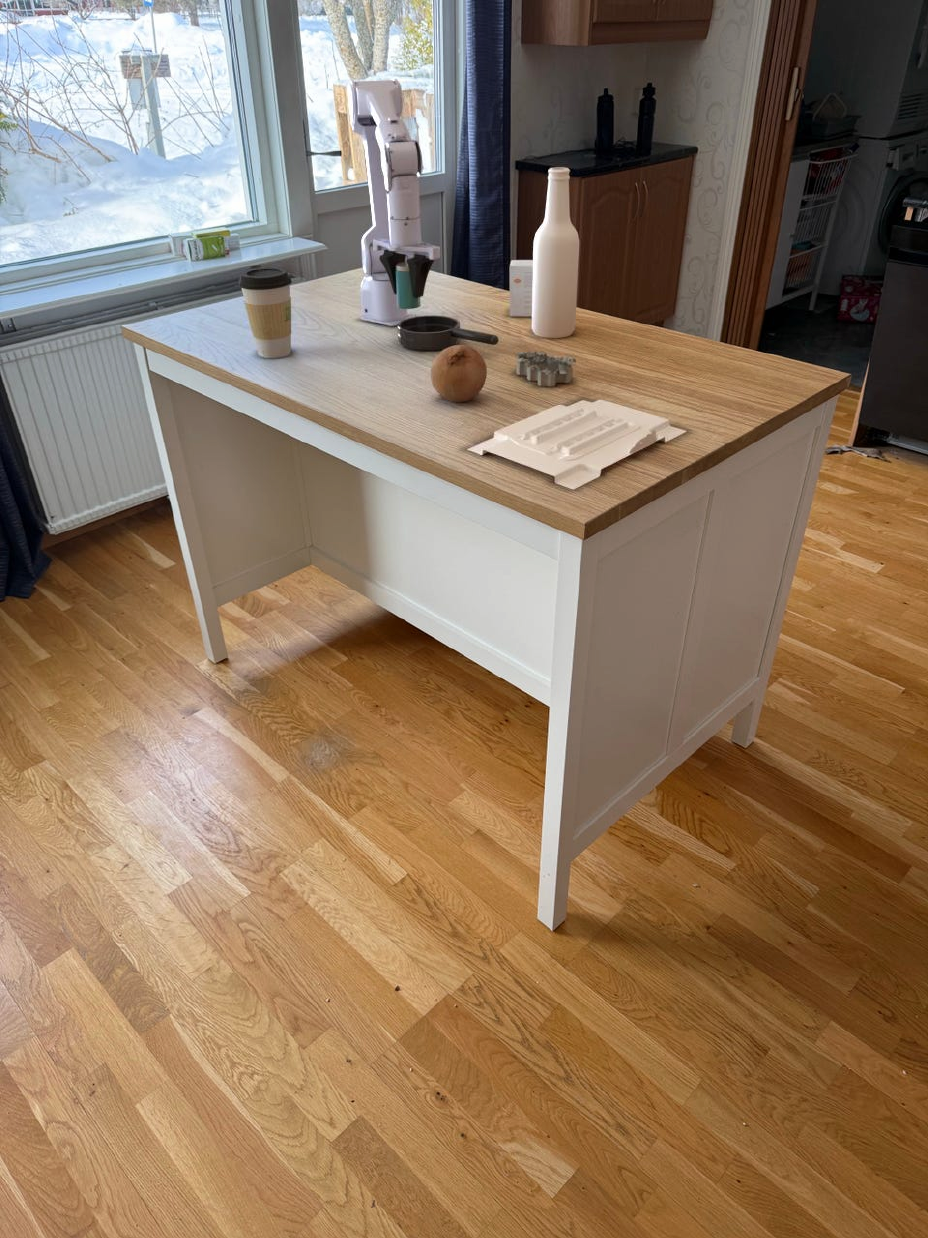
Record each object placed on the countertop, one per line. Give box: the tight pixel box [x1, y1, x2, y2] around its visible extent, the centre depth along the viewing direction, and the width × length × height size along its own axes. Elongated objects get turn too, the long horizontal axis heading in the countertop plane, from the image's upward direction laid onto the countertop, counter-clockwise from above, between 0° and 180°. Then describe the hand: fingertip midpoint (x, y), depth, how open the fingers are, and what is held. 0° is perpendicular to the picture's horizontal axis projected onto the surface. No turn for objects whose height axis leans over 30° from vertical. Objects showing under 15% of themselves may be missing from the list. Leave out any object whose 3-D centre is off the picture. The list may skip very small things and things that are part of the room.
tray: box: [466, 399, 687, 490], centre depth 135 cm, size 20×28×4 cm
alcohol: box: [531, 166, 580, 339], centre depth 174 cm, size 9×9×30 cm
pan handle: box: [451, 327, 499, 346], centre depth 171 cm, size 11×2×2 cm, turn 53°
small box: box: [509, 259, 533, 318], centre depth 191 cm, size 8×6×10 cm
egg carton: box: [513, 350, 577, 388], centre depth 158 cm, size 11×8×4 cm
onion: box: [430, 344, 488, 403], centre depth 149 cm, size 10×9×10 cm
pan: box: [397, 315, 461, 352], centre depth 177 cm, size 12×12×4 cm
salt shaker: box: [395, 262, 422, 310], centre depth 168 cm, size 4×4×8 cm
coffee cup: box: [238, 266, 293, 359], centre depth 170 cm, size 10×10×15 cm
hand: (408, 294), depth 169 cm, fingers closed on salt shaker, 4 cm apart
